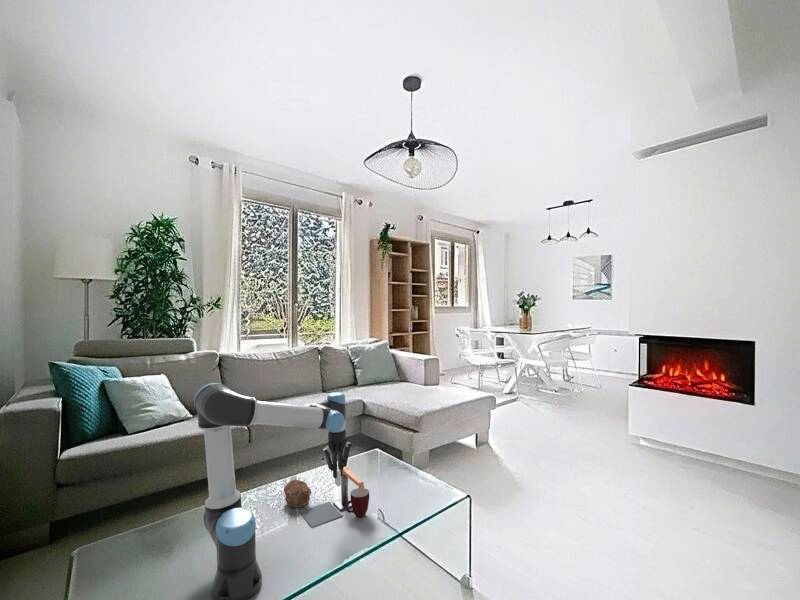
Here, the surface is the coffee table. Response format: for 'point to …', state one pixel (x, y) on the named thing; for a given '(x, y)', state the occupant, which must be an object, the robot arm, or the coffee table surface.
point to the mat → (320, 514)
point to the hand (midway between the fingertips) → (337, 484)
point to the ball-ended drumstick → (353, 478)
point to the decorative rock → (297, 493)
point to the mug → (358, 502)
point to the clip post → (343, 495)
